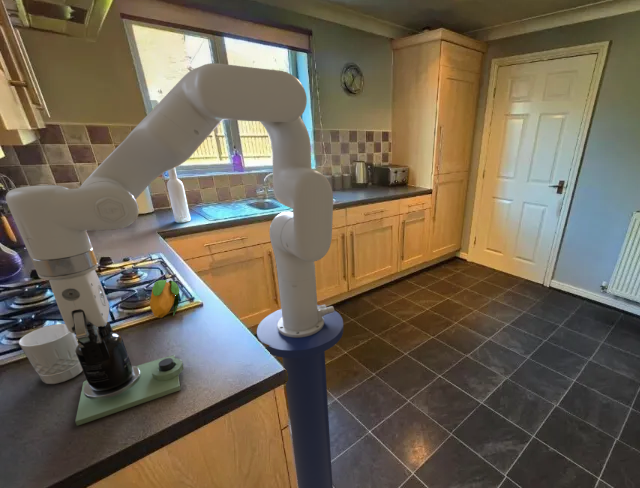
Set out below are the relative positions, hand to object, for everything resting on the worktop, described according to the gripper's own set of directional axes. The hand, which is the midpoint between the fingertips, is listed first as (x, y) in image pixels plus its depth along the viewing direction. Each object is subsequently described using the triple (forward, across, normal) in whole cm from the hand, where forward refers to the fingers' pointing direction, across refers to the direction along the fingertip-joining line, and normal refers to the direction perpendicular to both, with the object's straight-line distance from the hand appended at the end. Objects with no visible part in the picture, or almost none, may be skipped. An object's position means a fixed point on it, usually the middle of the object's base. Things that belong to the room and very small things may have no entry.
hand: (100, 349), depth 61 cm
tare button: (+8, 0, -9) cm, 12 cm away
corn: (+11, +32, -10) cm, 36 cm away
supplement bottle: (+7, 0, 0) cm, 7 cm away
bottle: (+11, +142, -25) cm, 144 cm away
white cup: (+11, +13, +10) cm, 19 cm away
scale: (+10, 0, -2) cm, 11 cm away
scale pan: (+8, 0, 0) cm, 8 cm away
